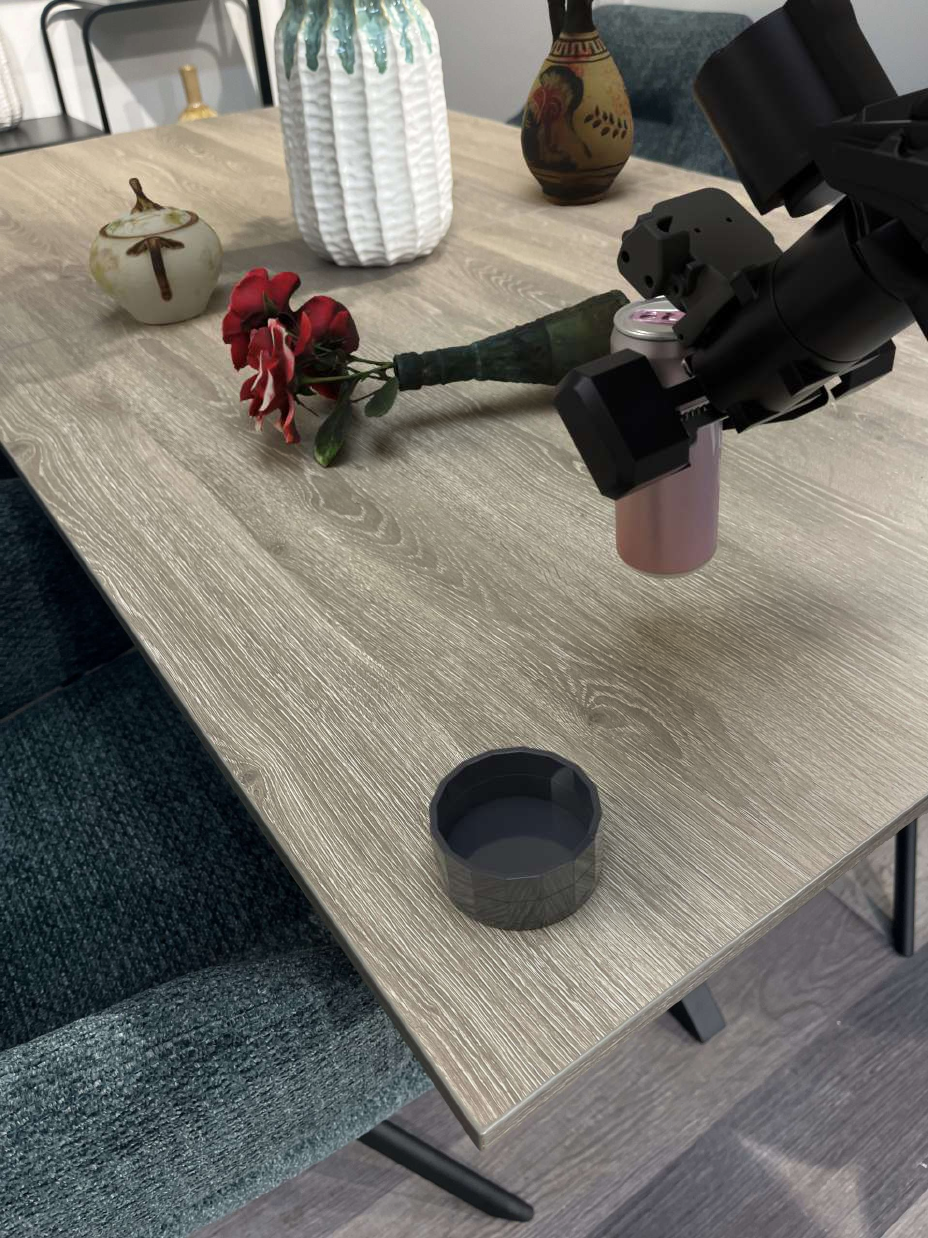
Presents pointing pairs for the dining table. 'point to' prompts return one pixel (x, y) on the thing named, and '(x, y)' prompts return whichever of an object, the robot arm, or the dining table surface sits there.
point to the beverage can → (686, 501)
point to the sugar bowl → (157, 261)
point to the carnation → (327, 335)
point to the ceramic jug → (576, 112)
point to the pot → (517, 837)
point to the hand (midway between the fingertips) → (650, 443)
